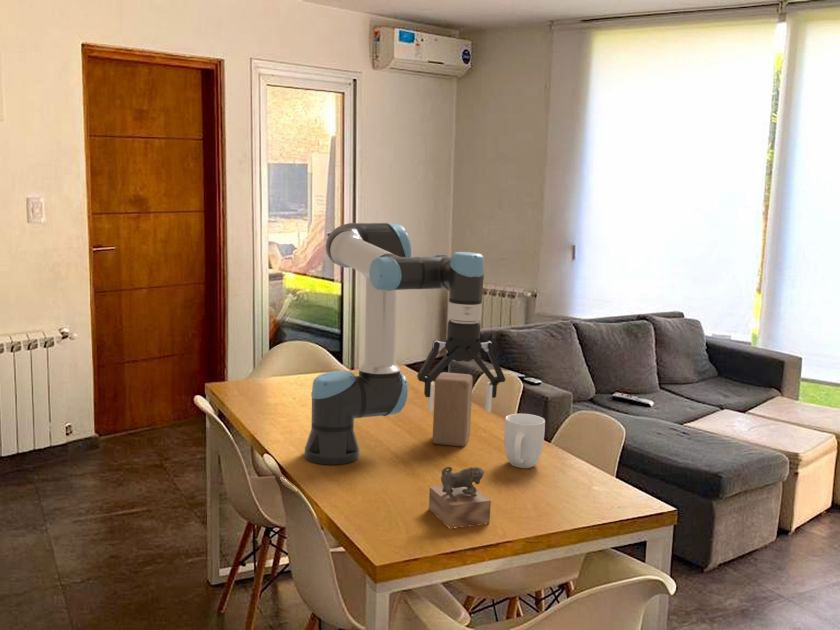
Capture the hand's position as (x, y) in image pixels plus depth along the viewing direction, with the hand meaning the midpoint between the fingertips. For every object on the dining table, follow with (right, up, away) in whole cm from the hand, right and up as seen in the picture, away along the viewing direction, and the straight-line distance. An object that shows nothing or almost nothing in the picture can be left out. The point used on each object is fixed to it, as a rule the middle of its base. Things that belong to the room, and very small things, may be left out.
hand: (459, 410), depth 198 cm
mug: (+19, -20, +39) cm, 47 cm away
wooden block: (0, -16, +58) cm, 60 cm away
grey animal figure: (+1, -20, 0) cm, 20 cm away
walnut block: (0, -25, +1) cm, 25 cm away
